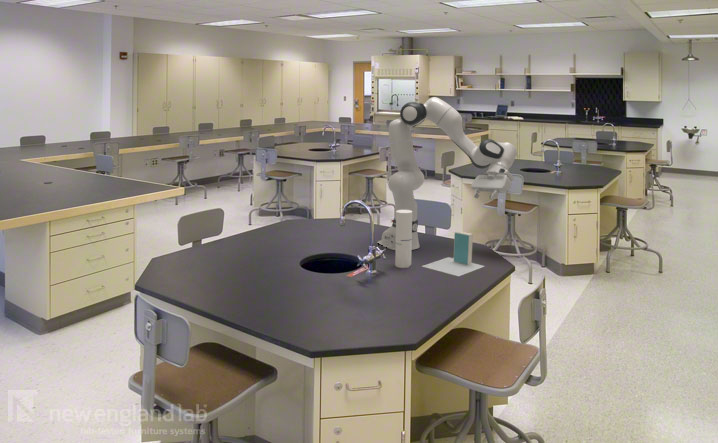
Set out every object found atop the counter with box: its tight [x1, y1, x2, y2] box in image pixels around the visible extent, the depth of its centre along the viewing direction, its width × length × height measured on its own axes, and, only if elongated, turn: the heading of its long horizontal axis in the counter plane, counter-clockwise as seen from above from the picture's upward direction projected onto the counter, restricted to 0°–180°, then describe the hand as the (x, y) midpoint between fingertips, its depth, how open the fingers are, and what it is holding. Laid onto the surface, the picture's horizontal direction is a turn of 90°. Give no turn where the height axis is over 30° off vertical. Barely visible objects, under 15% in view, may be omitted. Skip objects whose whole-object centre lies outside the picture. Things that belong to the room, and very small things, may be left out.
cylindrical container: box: [394, 210, 412, 269], centre depth 251 cm, size 7×7×25 cm
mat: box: [421, 256, 486, 277], centre depth 250 cm, size 20×20×1 cm
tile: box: [453, 230, 474, 265], centre depth 253 cm, size 8×3×14 cm, turn 45°
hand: (483, 198), depth 258 cm, fingers open, 8 cm apart
